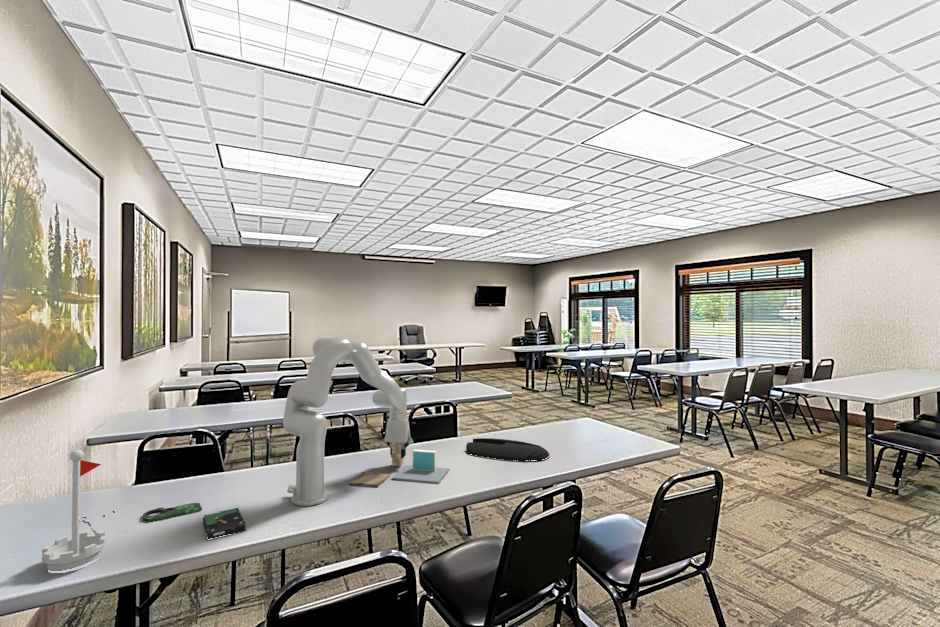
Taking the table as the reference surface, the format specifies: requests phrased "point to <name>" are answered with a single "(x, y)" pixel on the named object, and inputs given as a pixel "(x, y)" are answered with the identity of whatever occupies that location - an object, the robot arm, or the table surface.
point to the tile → (424, 460)
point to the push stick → (397, 455)
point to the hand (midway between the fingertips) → (398, 456)
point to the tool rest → (369, 479)
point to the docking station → (506, 449)
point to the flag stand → (75, 529)
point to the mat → (421, 474)
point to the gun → (171, 512)
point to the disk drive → (223, 523)
